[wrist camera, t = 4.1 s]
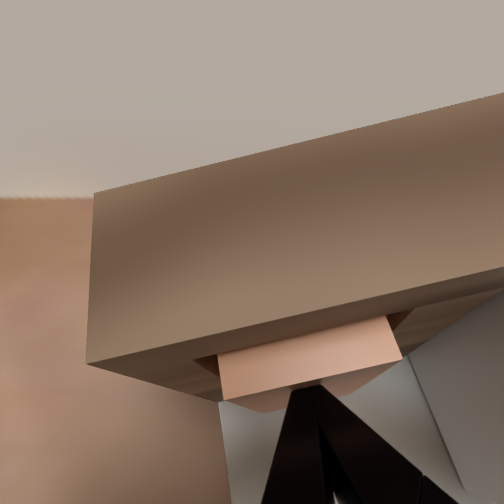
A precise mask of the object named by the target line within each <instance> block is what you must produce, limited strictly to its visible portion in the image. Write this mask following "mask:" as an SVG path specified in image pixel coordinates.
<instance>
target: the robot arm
mask: <svg viewBox="0 0 504 504" xmlns="http://www.w3.org/2000/svg"><path fill="white" fill-rule="evenodd" d="M334 495H335V497H336V500H337V502H338V504H459V503H458V502H457V501H456V500H454V499H453V498H452V497H451V496H449V495H448V494H447V493H446V492H445V491H443V490H442V489H441V488H440V487H439V486H438V485H436V484H435V483H434V482H433V481H432V480H431V479H430V478H429V477H427V476H426V475H424V476H423V473H422V472H421V471H420V470H419V469H418V468H417V467H416V466H414V465H413V464H412V463H411V462H410V461H409V460H408V459H406V458H405V457H404V456H403V455H402V454H401V453H400V452H398V451H397V450H396V449H395V448H394V447H393V446H391V445H390V444H389V443H388V442H387V441H386V440H385V439H383V438H382V437H381V436H380V435H379V434H378V433H377V432H375V431H374V430H373V429H372V428H371V427H370V426H368V425H367V424H366V423H365V422H364V421H363V420H362V419H360V418H359V417H358V416H357V415H356V414H355V413H354V412H352V411H351V410H350V409H349V408H348V407H347V406H346V405H344V404H343V403H342V402H341V401H340V400H339V399H337V398H336V397H335V396H334V395H333V394H332V393H331V392H329V391H328V390H327V389H326V388H325V387H324V386H322V385H321V384H318V385H313V386H309V387H307V388H300V389H296V390H293V391H291V393H290V397H289V401H288V404H287V408H286V412H285V415H284V419H283V423H282V427H281V430H280V434H279V438H278V441H277V445H276V449H275V452H274V456H273V460H272V463H271V467H270V471H269V474H268V478H267V482H266V486H265V489H264V493H263V497H262V500H261V504H335V498H334Z"/></svg>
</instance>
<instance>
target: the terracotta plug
mask: <svg viewBox="0 0 504 504" xmlns="http://www.w3.org/2000/svg"><path fill="white" fill-rule="evenodd" d="M217 356H218V364H219V371H220V378H221V385H222V392H223V399H224V400H225V401H227V402H230V403H233V404H236V405H239V406H242V407H245V408H248V409H251V410H254V411H257V412H260V413H263V414H264V413H268V412H272V411H277V410H281V409H286V408H287V404H288V401H289V397H290V393H291V391H293V390H296V389H300V388H307V387H309V386H313V385H318V384H321V385H322V386H324V387H325V388H326V389H327V390H328V391H329V392H331V393H332V394H333V395H334V396H335V397H339V396H343V395H348V394H352V393H353V392H355V391H356V390H358V389H359V388H361V387H362V386H364V385H365V384H367V383H368V382H370V381H371V380H373V379H374V378H376V377H377V376H379V375H380V374H382V373H383V372H385V371H386V370H388V369H389V368H391V367H392V366H394V365H395V364H397V363H398V362H400V361H401V360H403V357H402V355H401V352H400V350H399V347H398V345H397V343H396V340H395V338H394V335H393V333H392V330H391V328H390V325H389V323H388V321H387V318H386V316H385V315H383V316H379V317H374V318H370V319H366V320H361V321H357V322H353V323H348V324H344V325H340V326H335V327H331V328H327V329H322V330H318V331H314V332H310V333H305V334H301V335H297V336H292V337H288V338H284V339H279V340H275V341H271V342H266V343H262V344H258V345H253V346H249V347H245V348H240V349H236V350H232V351H227V352H223V353H219V354H217Z"/></svg>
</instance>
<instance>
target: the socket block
mask: <svg viewBox="0 0 504 504" xmlns="http://www.w3.org/2000/svg"><path fill="white" fill-rule="evenodd" d="M503 289H504V93H500V94H496V95H493V96H488V97H484V98H480V99H476V100H472V101H468V102H463V103H460V104H455V105H451V106H447V107H443V108H439V109H435V110H431V111H427V112H423V113H419V114H415V115H411V116H407V117H403V118H399V119H395V120H390V121H386V122H382V123H378V124H374V125H370V126H366V127H362V128H358V129H354V130H349V131H345V132H341V133H337V134H333V135H329V136H325V137H321V138H317V139H313V140H309V141H305V142H301V143H297V144H293V145H288V146H284V147H280V148H276V149H272V150H268V151H264V152H260V153H256V154H252V155H248V156H244V157H240V158H235V159H232V160H227V161H223V162H219V163H215V164H211V165H207V166H203V167H199V168H195V169H191V170H187V171H183V172H178V173H175V174H170V175H166V176H162V177H158V178H154V179H150V180H146V181H142V182H138V183H134V184H129V185H125V186H122V187H117V188H113V189H109V190H105V191H101V192H97V193H94V203H93V224H92V244H91V264H90V285H89V305H88V325H87V346H86V364H87V365H91V366H94V367H98V368H101V369H105V370H108V371H112V372H115V373H118V374H122V375H125V376H129V377H132V378H136V379H139V380H143V381H146V382H149V383H153V384H156V385H160V386H163V387H167V388H170V389H174V390H177V391H181V392H184V393H187V394H191V395H194V396H198V397H201V398H205V399H208V400H212V401H215V402H218V405H219V412H220V420H221V427H222V435H223V443H224V450H225V458H226V465H227V473H228V480H229V488H230V495H231V503H232V504H261V500H262V497H263V493H264V489H265V486H266V482H267V478H268V474H269V471H270V467H271V463H272V460H273V456H274V452H275V449H276V445H277V441H278V438H279V434H280V430H281V427H282V423H283V419H284V415H285V412H286V409H281V410H277V411H272V412H268V413H264V414H263V413H260V412H257V411H254V410H251V409H248V408H245V407H242V406H239V405H236V404H233V403H230V402H227V401H225V400H224V399H223V392H222V385H221V378H220V371H219V364H218V356H217V354H219V353H223V352H227V351H232V350H236V349H240V348H245V347H249V346H253V345H258V344H262V343H266V342H271V341H275V340H279V339H284V338H288V337H292V336H297V335H301V334H305V333H310V332H314V331H318V330H322V329H327V328H331V327H335V326H340V325H344V324H348V323H353V322H357V321H361V320H366V319H370V318H374V317H379V316H383V315H385V316H386V318H387V321H388V323H389V325H390V328H391V330H392V333H393V335H394V338H395V340H396V343H397V345H398V347H399V350H400V352H401V355H402V357H403V360H401V361H400V362H398V363H397V364H395V365H394V366H392V367H391V368H389V369H388V370H386V371H385V372H383V373H382V374H380V375H379V376H377V377H376V378H374V379H373V380H371V381H370V382H368V383H367V384H365V385H364V386H362V387H361V388H359V389H358V390H356V391H355V392H353V393H352V394H348V395H343V396H339V397H336V398H337V399H339V400H340V401H341V402H342V403H343V404H344V405H346V406H347V407H348V408H349V409H350V410H351V411H352V412H354V413H355V414H356V415H357V416H358V417H359V418H360V419H362V420H363V421H364V422H365V423H366V424H367V425H368V426H370V427H371V428H372V429H373V430H374V431H375V432H377V433H378V434H379V435H380V436H381V437H382V438H383V439H385V440H386V441H387V442H388V443H389V444H390V445H391V446H393V447H394V448H395V449H396V450H397V451H398V452H400V453H401V454H402V455H403V456H404V457H405V458H406V459H408V460H409V461H410V462H411V463H412V464H413V465H414V466H416V467H417V468H418V469H419V470H420V471H421V472H422V473H423V476H424V475H426V476H427V477H429V478H430V479H431V480H432V481H433V482H434V483H435V484H436V485H438V486H439V487H440V488H441V489H442V490H443V491H445V492H446V493H447V494H448V495H449V496H451V497H452V498H453V499H454V500H456V501H457V502H458V503H459V504H497V503H495V502H492V501H489V500H487V499H484V498H482V497H479V496H477V495H474V494H472V493H469V492H467V491H465V489H464V487H463V485H462V482H461V480H460V477H459V475H458V473H457V470H456V468H455V465H454V463H453V461H452V458H451V456H450V453H449V451H448V449H447V446H446V444H445V441H444V439H443V437H442V434H441V432H440V430H439V427H438V425H437V422H436V420H435V418H434V415H433V413H432V410H431V408H430V406H429V403H428V401H427V398H426V396H425V394H424V391H423V389H422V386H421V384H420V382H419V379H418V377H417V374H416V372H415V370H414V367H413V365H412V363H411V360H410V358H409V355H408V354H409V353H410V352H412V351H413V350H415V349H416V348H418V347H419V346H421V345H422V344H424V343H425V342H427V341H428V340H430V339H431V338H433V337H434V336H435V335H437V334H438V333H440V332H441V331H443V330H444V329H446V328H447V327H449V326H450V325H452V324H453V323H455V322H456V321H458V320H459V319H460V318H462V317H463V316H465V315H466V314H468V313H469V312H471V311H472V310H474V309H475V308H477V307H478V306H480V305H481V304H483V303H484V302H485V301H487V300H488V299H490V298H491V297H493V296H494V295H496V294H497V293H499V292H500V291H502V290H503ZM334 498H335V504H338V502H337V500H336V497H335V495H334Z"/></svg>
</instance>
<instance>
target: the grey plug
mask: <svg viewBox="0 0 504 504" xmlns="http://www.w3.org/2000/svg"><path fill="white" fill-rule="evenodd" d="M408 355H409V358H410V360H411V363H412V365H413V367H414V370H415V372H416V374H417V377H418V379H419V382H420V384H421V386H422V389H423V391H424V394H425V396H426V398H427V401H428V403H429V406H430V408H431V410H432V413H433V415H434V418H435V420H436V422H437V425H438V427H439V430H440V432H441V434H442V437H443V439H444V441H445V444H446V446H447V449H448V451H449V453H450V456H451V458H452V461H453V463H454V465H455V468H456V470H457V473H458V475H459V477H460V480H461V482H462V485H463V487H464V489H465V491H467V492H469V493H472V494H474V495H477V496H479V497H482V498H484V499H487V500H489V501H492V502H495V503H497V504H504V289H503V290H502V291H500V292H499V293H497V294H496V295H494V296H493V297H491V298H490V299H488V300H487V301H485V302H484V303H483V304H481V305H480V306H478V307H477V308H475V309H474V310H472V311H471V312H469V313H468V314H466V315H465V316H463V317H462V318H460V319H459V320H458V321H456V322H455V323H453V324H452V325H450V326H449V327H447V328H446V329H444V330H443V331H441V332H440V333H438V334H437V335H435V336H434V337H433V338H431V339H430V340H428V341H427V342H425V343H424V344H422V345H421V346H419V347H418V348H416V349H415V350H413V351H412V352H410V353H409V354H408Z"/></svg>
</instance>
